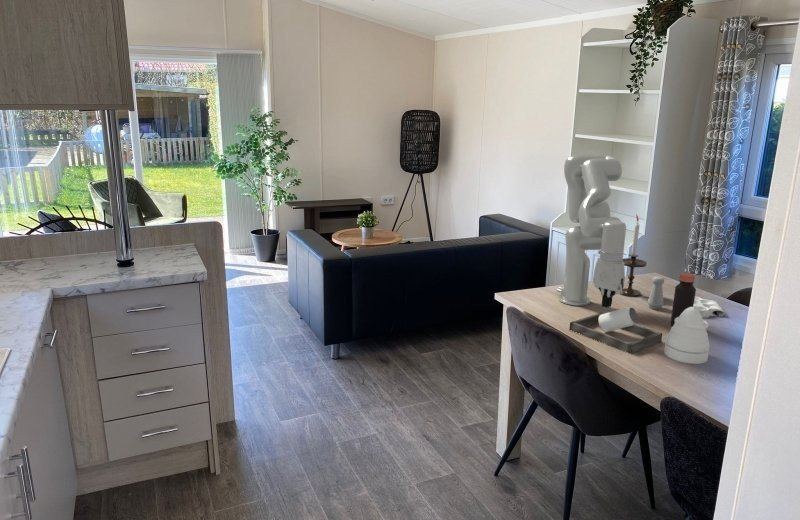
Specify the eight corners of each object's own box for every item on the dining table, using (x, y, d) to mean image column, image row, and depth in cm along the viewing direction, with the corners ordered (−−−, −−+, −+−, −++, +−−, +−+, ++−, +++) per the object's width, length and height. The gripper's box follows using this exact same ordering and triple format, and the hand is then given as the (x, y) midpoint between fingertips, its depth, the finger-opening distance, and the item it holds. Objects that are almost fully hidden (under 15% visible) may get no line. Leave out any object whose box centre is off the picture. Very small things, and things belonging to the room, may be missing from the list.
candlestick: (611, 293, 254) (619, 213, 245) (623, 288, 261) (632, 210, 252) (635, 299, 247) (645, 217, 238) (647, 293, 254) (656, 214, 245)
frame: (569, 330, 212) (569, 322, 212) (600, 320, 223) (600, 312, 222) (630, 353, 193) (631, 345, 192) (661, 341, 203) (662, 333, 202)
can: (609, 325, 214) (640, 317, 206) (605, 335, 210) (636, 328, 202) (600, 311, 213) (631, 302, 205) (595, 321, 209) (627, 313, 200)
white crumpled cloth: (726, 320, 224) (684, 317, 228) (714, 305, 241) (676, 302, 245) (727, 312, 223) (685, 308, 227) (716, 297, 240) (677, 294, 244)
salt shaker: (660, 306, 239) (664, 275, 235) (664, 310, 233) (668, 279, 230) (645, 305, 239) (648, 274, 236) (649, 310, 234) (653, 279, 230)
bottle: (674, 321, 221) (681, 271, 216) (693, 326, 217) (700, 274, 211) (667, 326, 217) (674, 274, 212) (686, 331, 212) (693, 278, 207)
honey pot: (716, 361, 188) (725, 308, 183) (683, 365, 184) (691, 311, 180) (687, 345, 200) (694, 295, 195) (655, 349, 196) (662, 298, 192)
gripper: (586, 253, 208) (582, 302, 212) (623, 262, 196) (618, 314, 200) (600, 250, 212) (595, 299, 216) (637, 259, 200) (631, 310, 205)
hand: (606, 306), depth 208 cm, fingers closed
